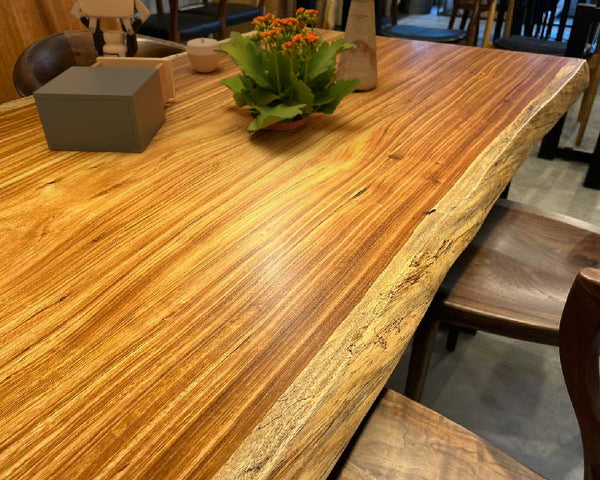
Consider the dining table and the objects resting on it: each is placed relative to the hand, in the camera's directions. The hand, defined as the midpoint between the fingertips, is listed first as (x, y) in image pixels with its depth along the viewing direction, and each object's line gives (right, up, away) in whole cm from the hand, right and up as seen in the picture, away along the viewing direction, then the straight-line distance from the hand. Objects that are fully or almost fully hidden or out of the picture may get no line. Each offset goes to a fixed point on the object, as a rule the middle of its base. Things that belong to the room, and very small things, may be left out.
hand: (117, 54), depth 106 cm
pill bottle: (0, -4, +3) cm, 5 cm away
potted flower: (+32, -17, -11) cm, 38 cm away
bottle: (+48, -5, +5) cm, 48 cm away
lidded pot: (+15, +2, +13) cm, 20 cm away
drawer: (+6, -13, -8) cm, 16 cm away
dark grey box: (+5, -21, -18) cm, 28 cm away
